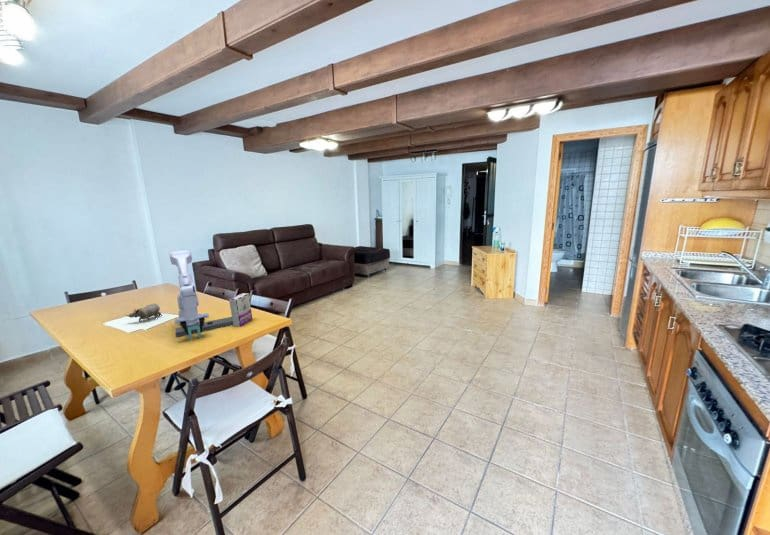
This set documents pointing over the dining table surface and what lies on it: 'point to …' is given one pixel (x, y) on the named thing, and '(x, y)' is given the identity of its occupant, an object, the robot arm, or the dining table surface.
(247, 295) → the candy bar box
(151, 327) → the dining table surface
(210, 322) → the rail
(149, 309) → the animal figurine
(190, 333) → the clip
